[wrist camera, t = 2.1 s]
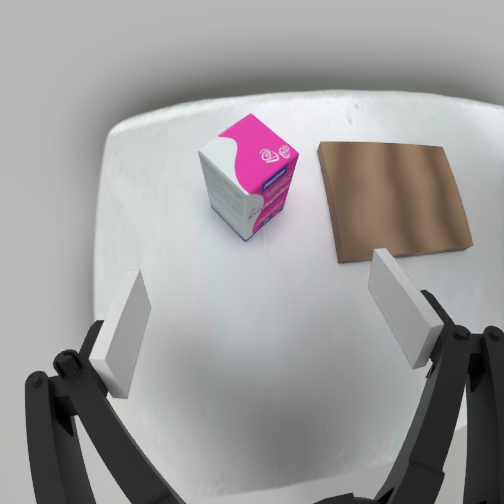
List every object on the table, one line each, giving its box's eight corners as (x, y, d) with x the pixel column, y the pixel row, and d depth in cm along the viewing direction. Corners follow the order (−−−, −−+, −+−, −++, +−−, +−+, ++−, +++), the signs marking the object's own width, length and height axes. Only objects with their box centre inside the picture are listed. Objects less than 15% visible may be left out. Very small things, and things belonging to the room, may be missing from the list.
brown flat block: (436, 154, 36) (442, 147, 34) (464, 249, 32) (473, 245, 31) (317, 150, 36) (320, 141, 34) (338, 263, 32) (343, 258, 30)
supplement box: (247, 244, 33) (244, 197, 22) (210, 206, 34) (192, 148, 23) (286, 209, 34) (301, 151, 23) (249, 174, 35) (248, 109, 24)
